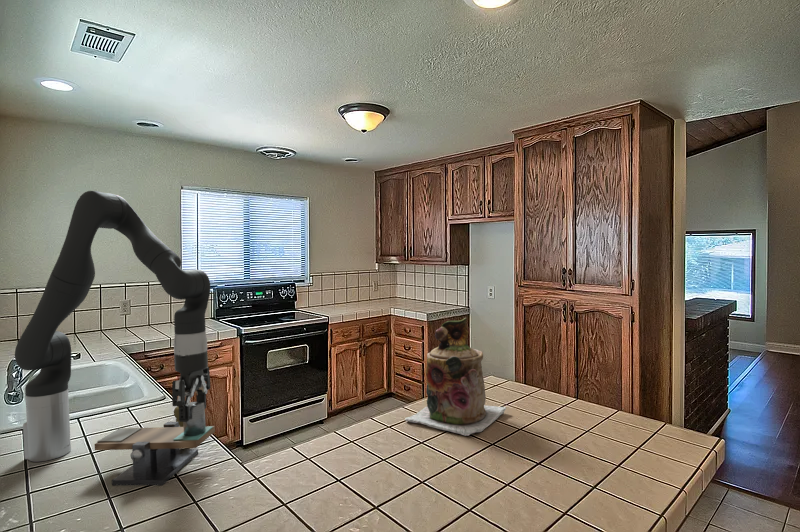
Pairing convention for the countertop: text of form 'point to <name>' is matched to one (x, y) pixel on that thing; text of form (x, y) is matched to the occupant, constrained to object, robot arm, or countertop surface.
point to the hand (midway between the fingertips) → (193, 415)
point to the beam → (152, 438)
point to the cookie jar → (455, 385)
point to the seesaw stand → (154, 463)
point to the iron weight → (195, 419)
